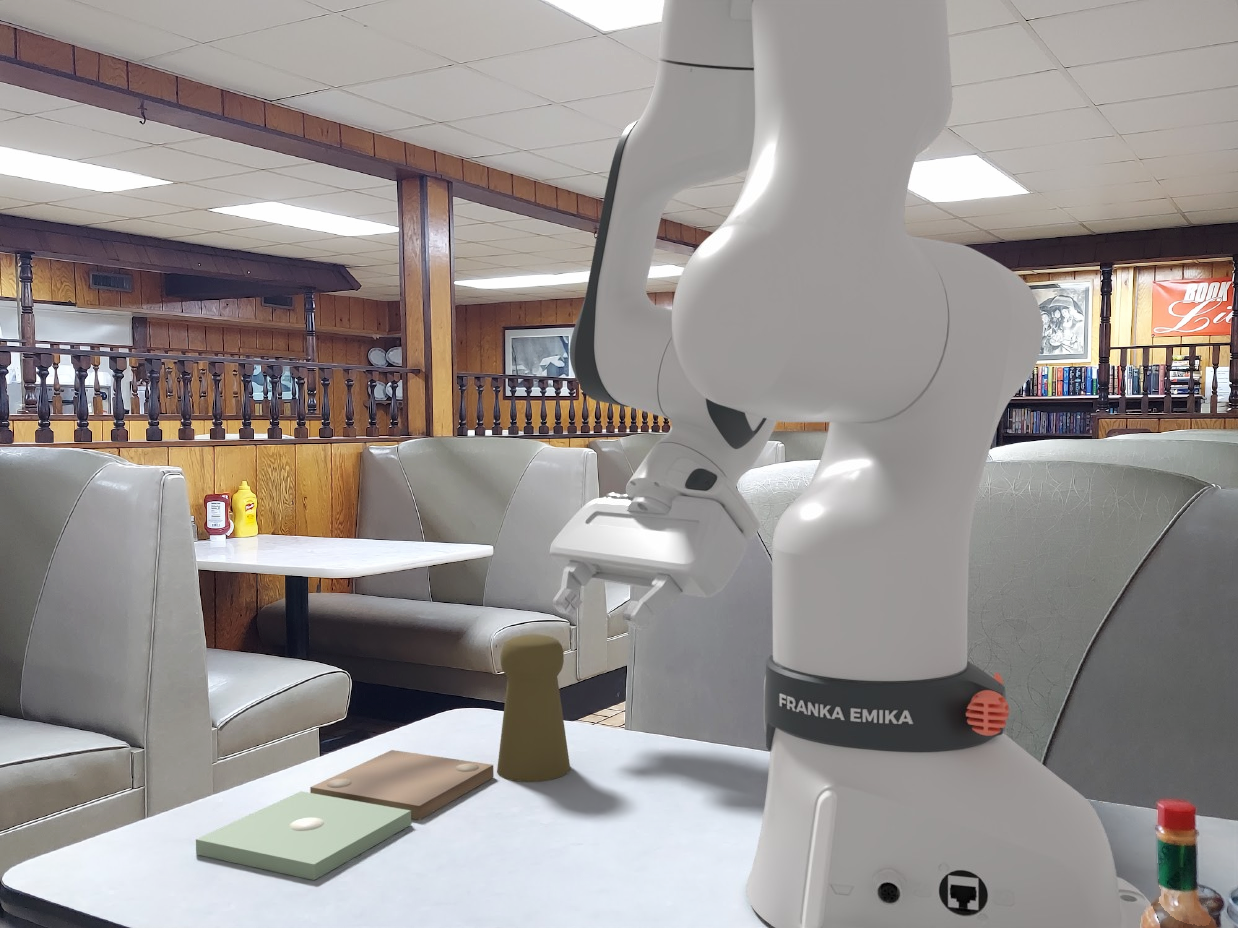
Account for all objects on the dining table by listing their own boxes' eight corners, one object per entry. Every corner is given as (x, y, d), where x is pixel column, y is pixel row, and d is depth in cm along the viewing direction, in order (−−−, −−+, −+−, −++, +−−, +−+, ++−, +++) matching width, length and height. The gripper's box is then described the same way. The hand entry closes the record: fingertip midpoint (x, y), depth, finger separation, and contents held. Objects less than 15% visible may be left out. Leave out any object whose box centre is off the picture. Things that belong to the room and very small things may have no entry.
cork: (575, 758, 89) (573, 629, 88) (564, 782, 83) (562, 644, 82) (505, 757, 89) (503, 628, 89) (489, 780, 83) (487, 643, 83)
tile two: (493, 776, 84) (493, 763, 84) (419, 819, 75) (419, 804, 75) (392, 761, 88) (392, 749, 88) (310, 799, 79) (310, 786, 79)
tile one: (411, 824, 74) (410, 809, 74) (314, 879, 65) (313, 863, 65) (301, 804, 78) (301, 790, 78) (196, 853, 69) (195, 838, 69)
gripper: (584, 471, 103) (503, 581, 96) (741, 478, 87) (657, 609, 81) (618, 514, 106) (542, 622, 100) (775, 528, 90) (697, 657, 84)
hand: (595, 617), depth 90 cm, fingers open, 8 cm apart
